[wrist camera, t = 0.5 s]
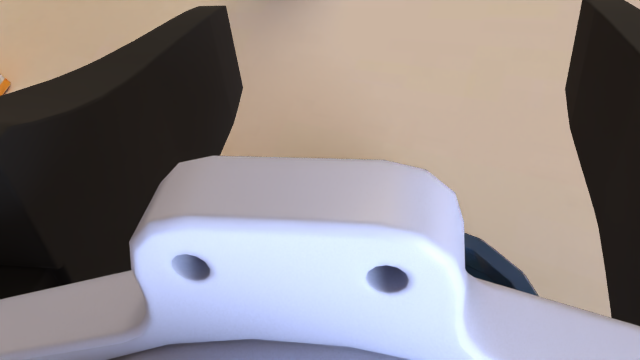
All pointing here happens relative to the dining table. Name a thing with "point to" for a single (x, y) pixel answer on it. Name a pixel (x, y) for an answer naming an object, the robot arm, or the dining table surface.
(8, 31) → the dining table surface
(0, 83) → the supplement box
